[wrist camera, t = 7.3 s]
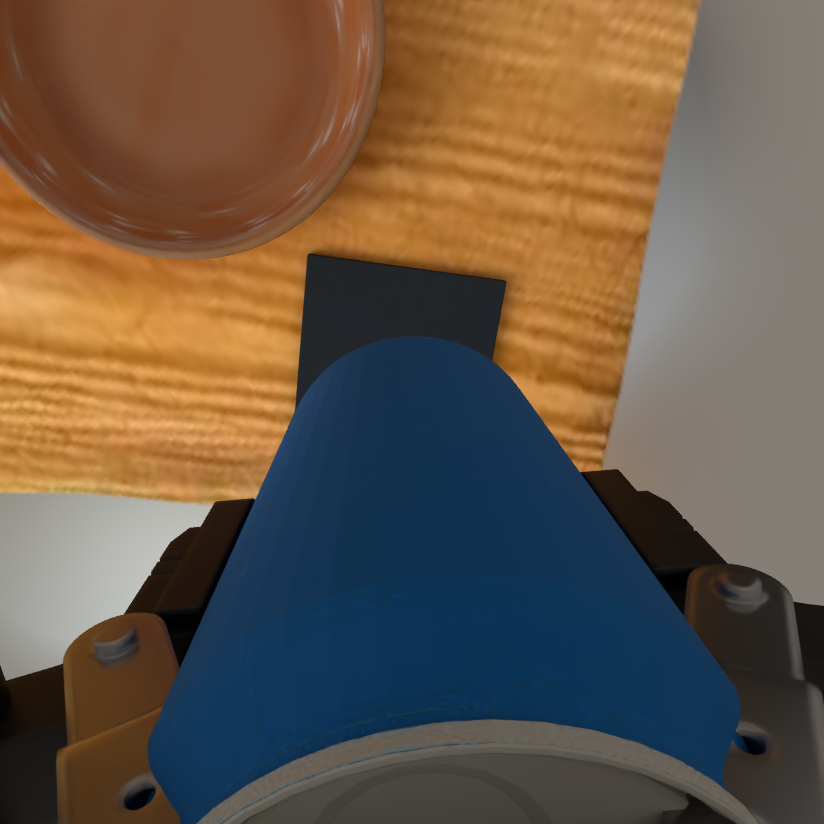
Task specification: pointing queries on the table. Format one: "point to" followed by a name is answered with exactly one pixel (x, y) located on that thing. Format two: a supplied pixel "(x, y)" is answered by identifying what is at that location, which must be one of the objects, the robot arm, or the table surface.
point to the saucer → (186, 114)
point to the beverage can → (438, 627)
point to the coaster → (390, 310)
